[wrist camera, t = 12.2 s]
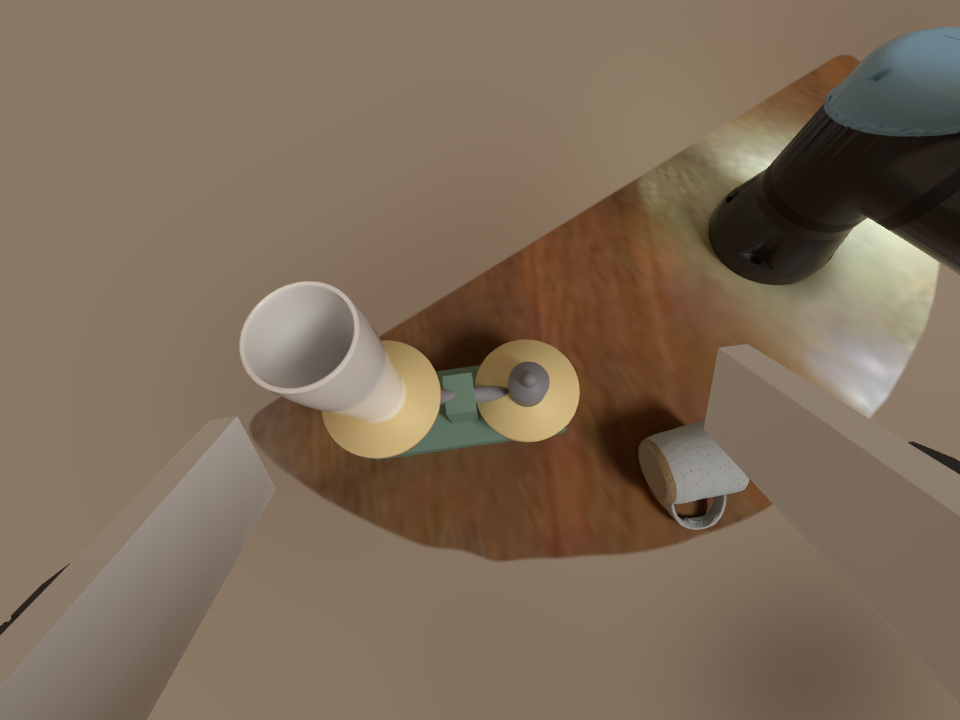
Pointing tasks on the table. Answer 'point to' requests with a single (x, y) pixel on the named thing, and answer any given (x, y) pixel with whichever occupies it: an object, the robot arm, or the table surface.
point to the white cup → (320, 353)
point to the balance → (468, 403)
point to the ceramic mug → (690, 471)
